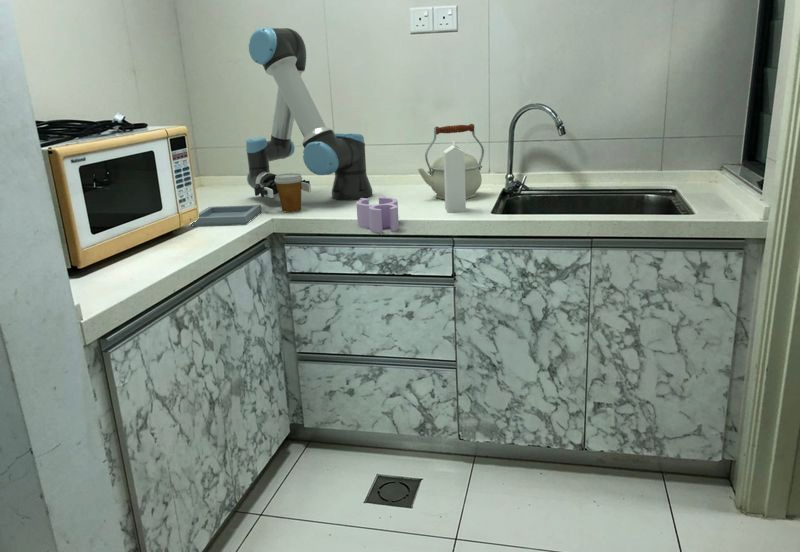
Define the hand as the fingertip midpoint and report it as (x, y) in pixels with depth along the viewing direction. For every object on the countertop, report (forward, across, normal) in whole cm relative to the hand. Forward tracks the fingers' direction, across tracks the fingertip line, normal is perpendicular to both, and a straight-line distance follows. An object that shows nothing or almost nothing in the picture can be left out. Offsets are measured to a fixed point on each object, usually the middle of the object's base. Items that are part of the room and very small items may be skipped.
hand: (291, 191), depth 222 cm
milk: (+37, -41, -7) cm, 56 cm away
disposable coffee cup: (-2, 0, -7) cm, 8 cm away
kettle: (+18, -53, -7) cm, 57 cm away
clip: (+38, -12, -7) cm, 41 cm away
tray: (-4, +22, -7) cm, 23 cm away
